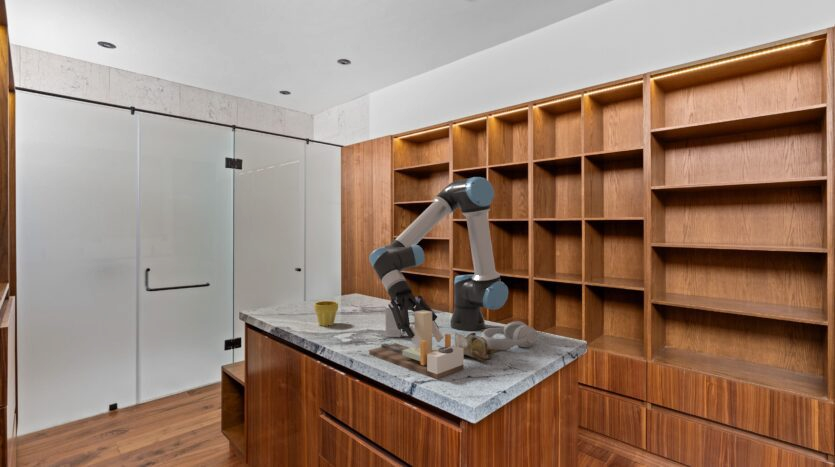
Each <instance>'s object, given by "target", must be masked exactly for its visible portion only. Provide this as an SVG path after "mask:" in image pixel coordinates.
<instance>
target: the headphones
mask: <svg viewBox="0 0 835 467" xmlns="http://www.w3.org/2000/svg"><path fill="white" fill-rule="evenodd" d="M499 333H503V335H504V338H494V335H496V334H499ZM536 334H537V332H536V330H535V329H534V327H532V326H531V325H530V326H529V325H527V324H526V323H525V322H523V321H521V320H513V321H510V322H508V323H506V325H505V326H504V327H503V326H502V327H489V328H486V329H484V330H483V332H482V333H481V336H480V337H483V338H484V339H485V340H486V342H487V344H488V346H490V347H491V348H493V349H494V350H500V351H508V350H511V348H513V347H519V348H530V347H531V346H532V345H533V344H534V343H535V342H536V340H537V335H536Z"/></svg>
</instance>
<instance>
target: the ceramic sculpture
mask: <svg viewBox="0 0 835 467" xmlns="http://www.w3.org/2000/svg"><path fill="white" fill-rule="evenodd" d="M454 346H457V347H460V348H463V356H465V355H466V356H469V357H471V358H473V359H477V360H478V361H480V362H485V361H490V360H491V358H490V357H489V355H495V354H497V353H500V352H501V350H495V349H493V348H491V347H490V346H488V344H487V342H486V340H485V339H484V338H483V337H481V336H477V334H476V332H471V333H469V334H467V336H464V335H463V334H459V333H457V332H455V333H454Z"/></svg>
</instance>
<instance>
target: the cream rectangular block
mask: <svg viewBox="0 0 835 467" xmlns="http://www.w3.org/2000/svg"><path fill="white" fill-rule="evenodd" d="M438 349H439V350H438V351H435V352H432V353H429V354H427V371H429V372H432V373H435V374H439V373H442V372H444V371H447V370H450V369H453V368H455V367H458V366H461V365H463V366H464V355H463V348H460V347H457V346H455V345H451V347H445V346H444V347H440V348H438Z"/></svg>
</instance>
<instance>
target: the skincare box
mask: <svg viewBox="0 0 835 467" xmlns="http://www.w3.org/2000/svg"><path fill="white" fill-rule="evenodd" d="M399 310H400V308H399ZM384 311H385V312H384V313H385V338H401V336H402V329H401V330H399V329H398V328H397V325H396V322H395V319H394V316H393V313H392V311H391V309H390V308H389V306H388V305H386V306H385V309H384Z"/></svg>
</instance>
